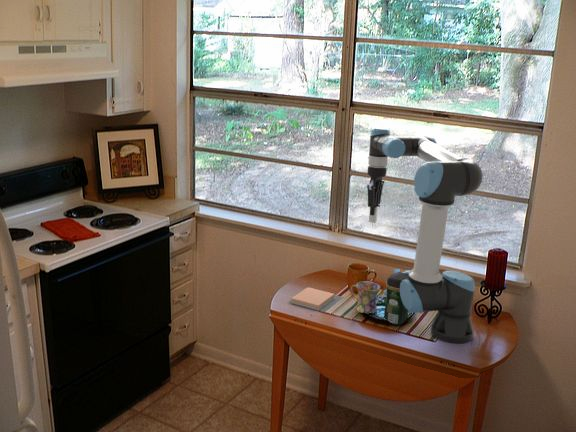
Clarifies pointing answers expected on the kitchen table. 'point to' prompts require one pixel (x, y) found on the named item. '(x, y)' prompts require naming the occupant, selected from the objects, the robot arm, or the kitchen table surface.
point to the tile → (312, 298)
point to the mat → (328, 305)
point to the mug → (366, 296)
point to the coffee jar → (395, 299)
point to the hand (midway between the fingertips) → (372, 222)
